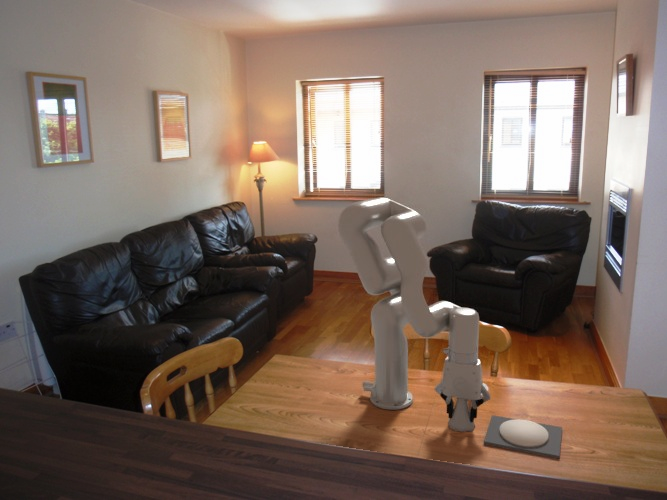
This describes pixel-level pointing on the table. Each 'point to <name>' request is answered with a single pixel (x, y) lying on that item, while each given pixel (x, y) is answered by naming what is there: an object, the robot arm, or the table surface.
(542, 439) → the saucer mat
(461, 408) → the flask
